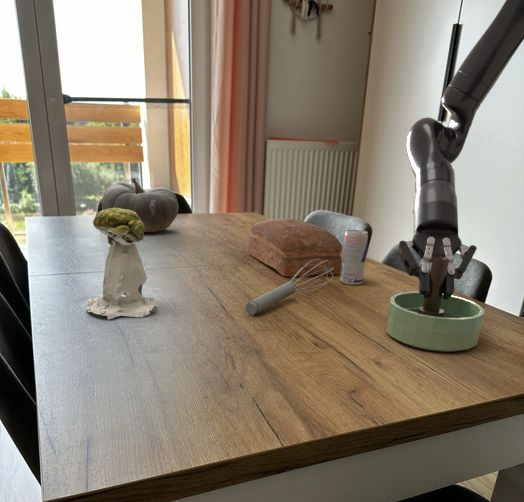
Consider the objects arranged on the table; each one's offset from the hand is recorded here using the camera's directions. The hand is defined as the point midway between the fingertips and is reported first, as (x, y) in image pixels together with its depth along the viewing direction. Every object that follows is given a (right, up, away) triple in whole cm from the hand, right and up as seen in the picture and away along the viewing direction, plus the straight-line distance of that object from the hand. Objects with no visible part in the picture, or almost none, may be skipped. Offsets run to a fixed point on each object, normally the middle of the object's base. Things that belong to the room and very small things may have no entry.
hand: (436, 296), depth 86 cm
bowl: (0, -7, +4) cm, 8 cm away
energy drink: (-8, +7, +36) cm, 38 cm away
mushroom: (-56, -2, +10) cm, 57 cm away
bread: (-22, +14, +52) cm, 58 cm away
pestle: (0, -5, +4) cm, 6 cm away
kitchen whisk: (-23, +2, +22) cm, 32 cm away
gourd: (-70, +32, +89) cm, 118 cm away
